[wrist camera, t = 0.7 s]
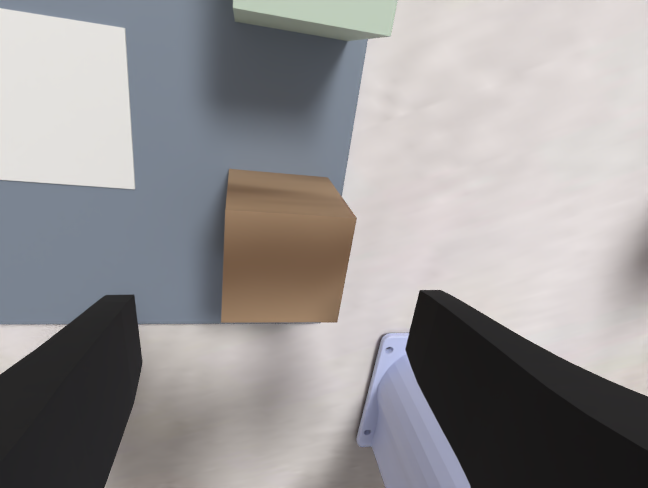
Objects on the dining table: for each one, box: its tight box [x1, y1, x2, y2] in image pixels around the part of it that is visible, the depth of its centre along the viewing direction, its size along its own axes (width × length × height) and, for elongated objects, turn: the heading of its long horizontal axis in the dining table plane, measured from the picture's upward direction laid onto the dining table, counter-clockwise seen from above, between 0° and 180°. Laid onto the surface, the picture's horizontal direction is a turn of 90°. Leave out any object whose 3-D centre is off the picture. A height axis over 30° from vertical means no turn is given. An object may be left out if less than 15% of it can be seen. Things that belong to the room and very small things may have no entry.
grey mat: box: [0, 0, 368, 324], centre depth 16 cm, size 20×16×1 cm
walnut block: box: [221, 169, 357, 323], centre depth 16 cm, size 4×4×5 cm
